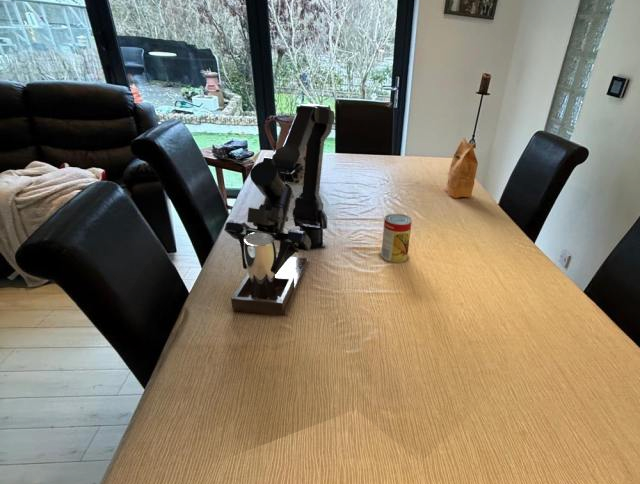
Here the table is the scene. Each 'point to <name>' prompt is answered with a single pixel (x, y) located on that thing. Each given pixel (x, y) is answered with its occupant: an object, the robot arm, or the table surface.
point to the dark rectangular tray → (285, 288)
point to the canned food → (396, 237)
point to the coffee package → (462, 171)
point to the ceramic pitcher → (282, 134)
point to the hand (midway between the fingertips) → (259, 271)
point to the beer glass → (261, 264)
